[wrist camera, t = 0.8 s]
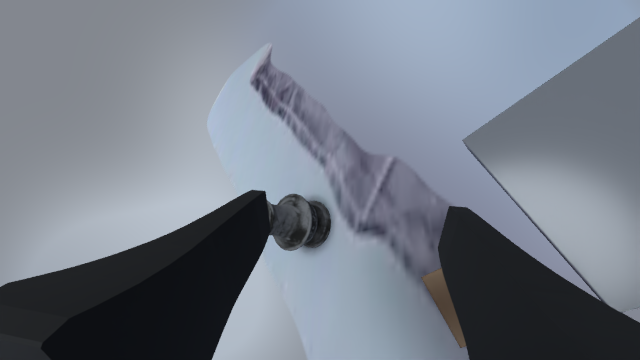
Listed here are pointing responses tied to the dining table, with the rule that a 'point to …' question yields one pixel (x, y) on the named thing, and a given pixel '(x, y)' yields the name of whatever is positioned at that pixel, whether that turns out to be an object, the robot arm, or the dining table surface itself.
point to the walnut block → (444, 303)
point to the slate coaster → (579, 164)
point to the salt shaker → (298, 222)
